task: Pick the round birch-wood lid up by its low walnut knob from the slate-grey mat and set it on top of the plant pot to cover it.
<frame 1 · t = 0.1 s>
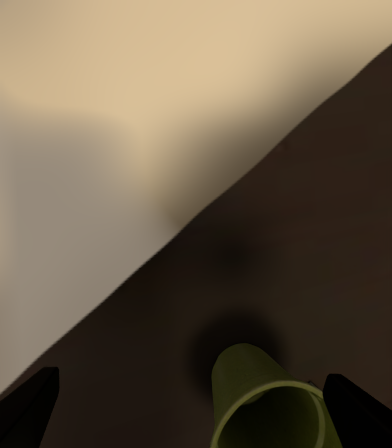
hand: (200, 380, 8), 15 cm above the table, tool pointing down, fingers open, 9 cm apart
plant pot: (241, 371, 25), on the table
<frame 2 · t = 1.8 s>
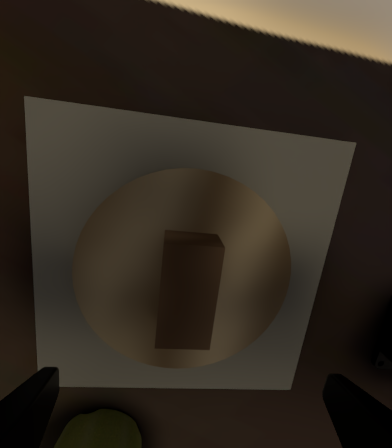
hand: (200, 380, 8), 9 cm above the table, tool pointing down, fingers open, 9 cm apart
plant pot: (102, 433, 20), on the table
lid: (185, 273, 16), point 1 cm above the table, touching mat
mat: (184, 267, 17), on the table
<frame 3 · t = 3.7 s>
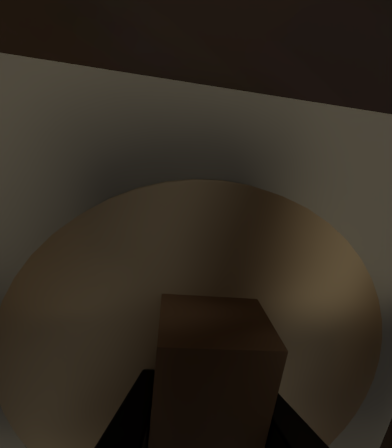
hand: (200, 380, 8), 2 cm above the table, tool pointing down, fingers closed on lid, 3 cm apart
lid: (197, 356, 9), point 1 cm above the table, touching gripper, mat
mat: (194, 337, 10), on the table
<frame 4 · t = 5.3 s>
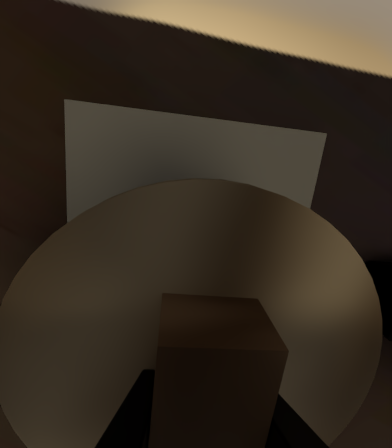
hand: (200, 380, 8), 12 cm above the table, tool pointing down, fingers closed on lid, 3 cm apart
lid: (197, 356, 9), point 11 cm above the table, touching gripper
mat: (189, 238, 20), on the table
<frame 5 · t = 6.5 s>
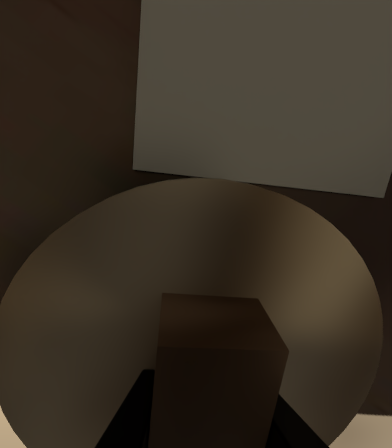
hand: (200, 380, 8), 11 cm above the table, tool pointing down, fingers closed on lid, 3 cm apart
lid: (197, 356, 9), point 10 cm above the table, touching gripper
mat: (286, 41, 16), on the table
when the fingers open (10 cm above the table, at t = 7.2 s): lid stays where it is, resting on plant pot.
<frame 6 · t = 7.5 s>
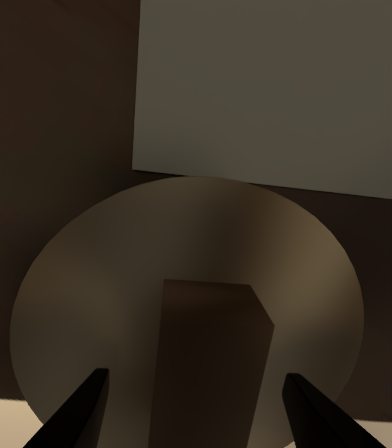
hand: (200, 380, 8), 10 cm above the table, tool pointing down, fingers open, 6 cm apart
lid: (195, 339, 10), point 9 cm above the table, touching plant pot
mat: (292, 35, 15), on the table
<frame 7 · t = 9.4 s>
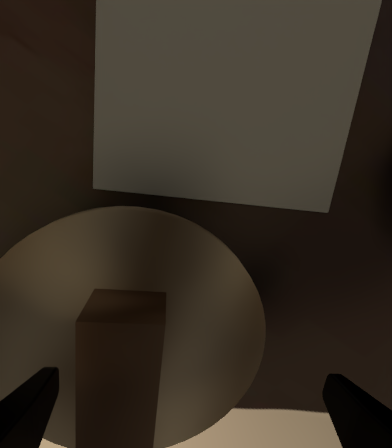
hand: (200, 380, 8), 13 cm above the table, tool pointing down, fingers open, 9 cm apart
lid: (130, 337, 12), point 9 cm above the table, touching plant pot
mat: (232, 72, 17), on the table
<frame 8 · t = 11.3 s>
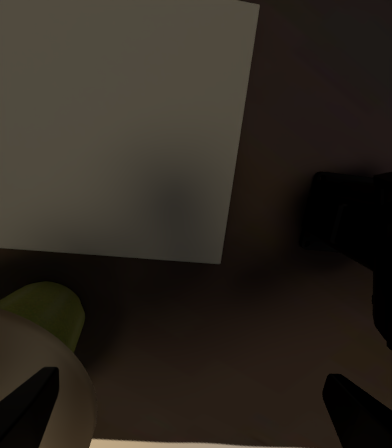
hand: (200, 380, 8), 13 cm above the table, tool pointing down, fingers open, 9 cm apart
plant pot: (49, 310, 21), on the table, touching lid
mat: (114, 135, 18), on the table
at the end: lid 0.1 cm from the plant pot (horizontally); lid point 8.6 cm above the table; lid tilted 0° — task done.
